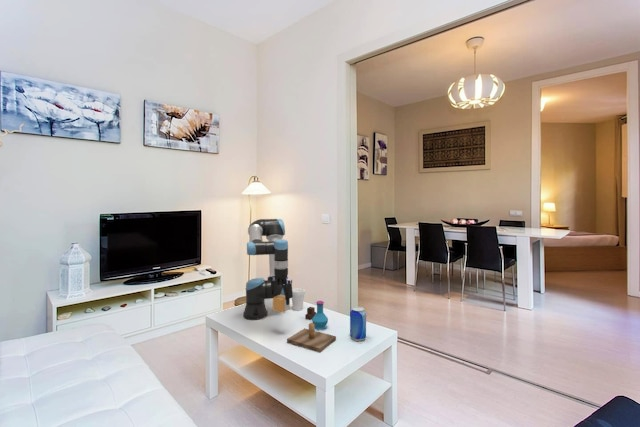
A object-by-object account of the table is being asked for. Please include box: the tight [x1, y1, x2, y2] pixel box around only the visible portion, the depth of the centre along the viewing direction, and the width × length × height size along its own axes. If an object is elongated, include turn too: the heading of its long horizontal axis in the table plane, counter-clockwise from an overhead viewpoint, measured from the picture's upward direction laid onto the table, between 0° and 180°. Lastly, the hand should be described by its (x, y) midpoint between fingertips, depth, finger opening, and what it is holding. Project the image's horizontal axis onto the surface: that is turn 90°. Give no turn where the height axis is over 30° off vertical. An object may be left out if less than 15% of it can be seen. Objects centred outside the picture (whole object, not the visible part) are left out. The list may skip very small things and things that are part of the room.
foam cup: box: [291, 287, 306, 312], centre depth 210 cm, size 10×9×13 cm
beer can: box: [349, 306, 367, 342], centre depth 165 cm, size 8×8×16 cm
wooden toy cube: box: [272, 295, 291, 313], centre depth 172 cm, size 6×6×7 cm
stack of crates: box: [305, 306, 317, 321], centre depth 194 cm, size 15×15×7 cm
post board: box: [286, 322, 337, 353], centre depth 161 cm, size 20×16×9 cm
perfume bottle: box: [311, 300, 329, 331], centre depth 179 cm, size 9×9×15 cm
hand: (281, 308), depth 172 cm, fingers closed on wooden toy cube, 6 cm apart
